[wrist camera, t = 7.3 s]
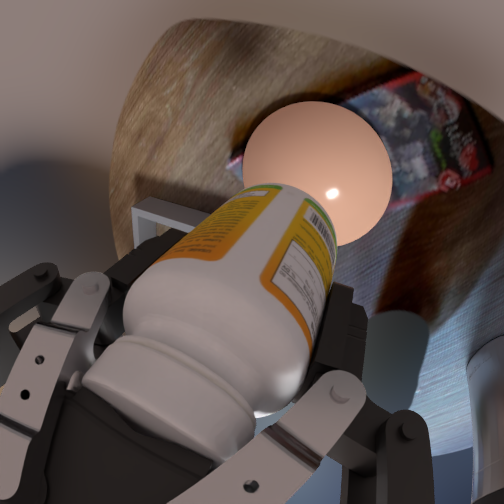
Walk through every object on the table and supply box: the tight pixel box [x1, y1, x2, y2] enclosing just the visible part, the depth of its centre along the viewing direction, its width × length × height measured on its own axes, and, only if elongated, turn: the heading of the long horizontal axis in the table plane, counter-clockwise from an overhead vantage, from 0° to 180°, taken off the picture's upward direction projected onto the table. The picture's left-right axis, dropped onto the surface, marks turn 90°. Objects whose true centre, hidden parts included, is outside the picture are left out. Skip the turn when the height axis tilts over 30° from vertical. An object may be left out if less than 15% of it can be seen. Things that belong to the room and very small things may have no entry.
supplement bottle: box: [82, 183, 337, 470], centre depth 9 cm, size 5×5×10 cm
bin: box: [131, 196, 211, 249], centre depth 30 cm, size 15×15×3 cm
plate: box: [243, 101, 392, 246], centre depth 22 cm, size 12×12×1 cm
